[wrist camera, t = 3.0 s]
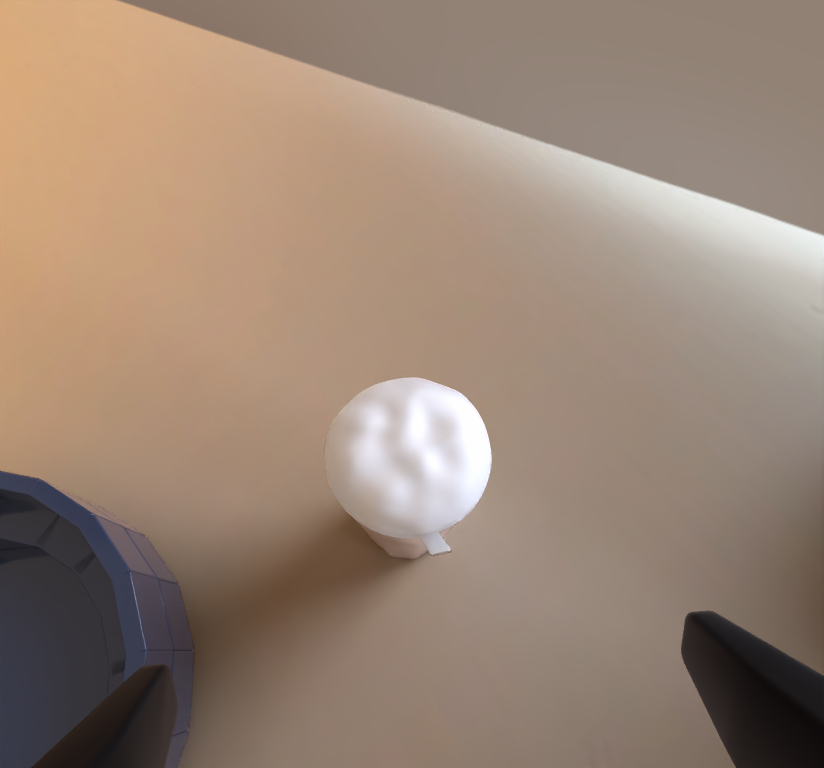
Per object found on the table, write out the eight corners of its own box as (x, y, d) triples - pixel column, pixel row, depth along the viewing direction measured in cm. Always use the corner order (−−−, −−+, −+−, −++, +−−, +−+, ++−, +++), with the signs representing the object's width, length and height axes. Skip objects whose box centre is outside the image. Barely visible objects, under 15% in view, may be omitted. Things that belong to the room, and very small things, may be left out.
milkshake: (366, 611, 19) (334, 579, 11) (343, 478, 22) (302, 361, 13) (480, 583, 20) (542, 530, 11) (446, 456, 22) (473, 329, 13)
